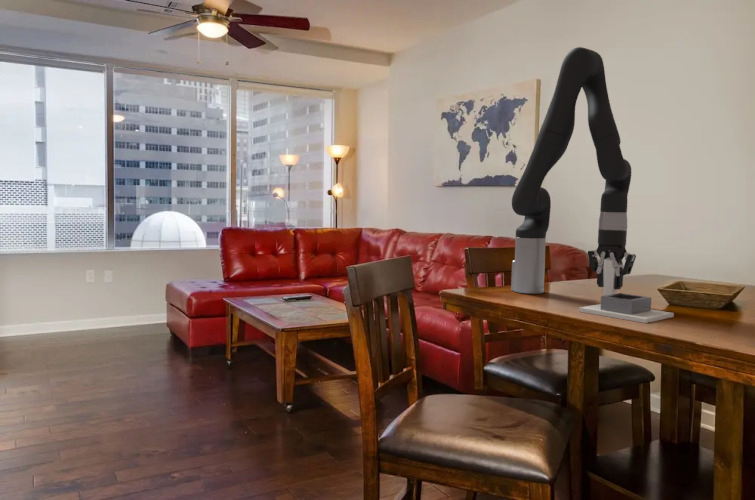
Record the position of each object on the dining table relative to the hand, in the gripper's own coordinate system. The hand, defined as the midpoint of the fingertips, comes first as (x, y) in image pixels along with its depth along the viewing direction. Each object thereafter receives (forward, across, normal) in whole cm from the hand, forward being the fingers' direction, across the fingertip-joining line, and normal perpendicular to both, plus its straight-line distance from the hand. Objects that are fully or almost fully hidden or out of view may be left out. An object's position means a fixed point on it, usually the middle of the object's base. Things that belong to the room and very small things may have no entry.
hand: (609, 287), depth 170 cm
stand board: (+4, +12, -13) cm, 18 cm away
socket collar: (+4, +12, -13) cm, 18 cm away
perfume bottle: (+5, 0, 0) cm, 5 cm away
